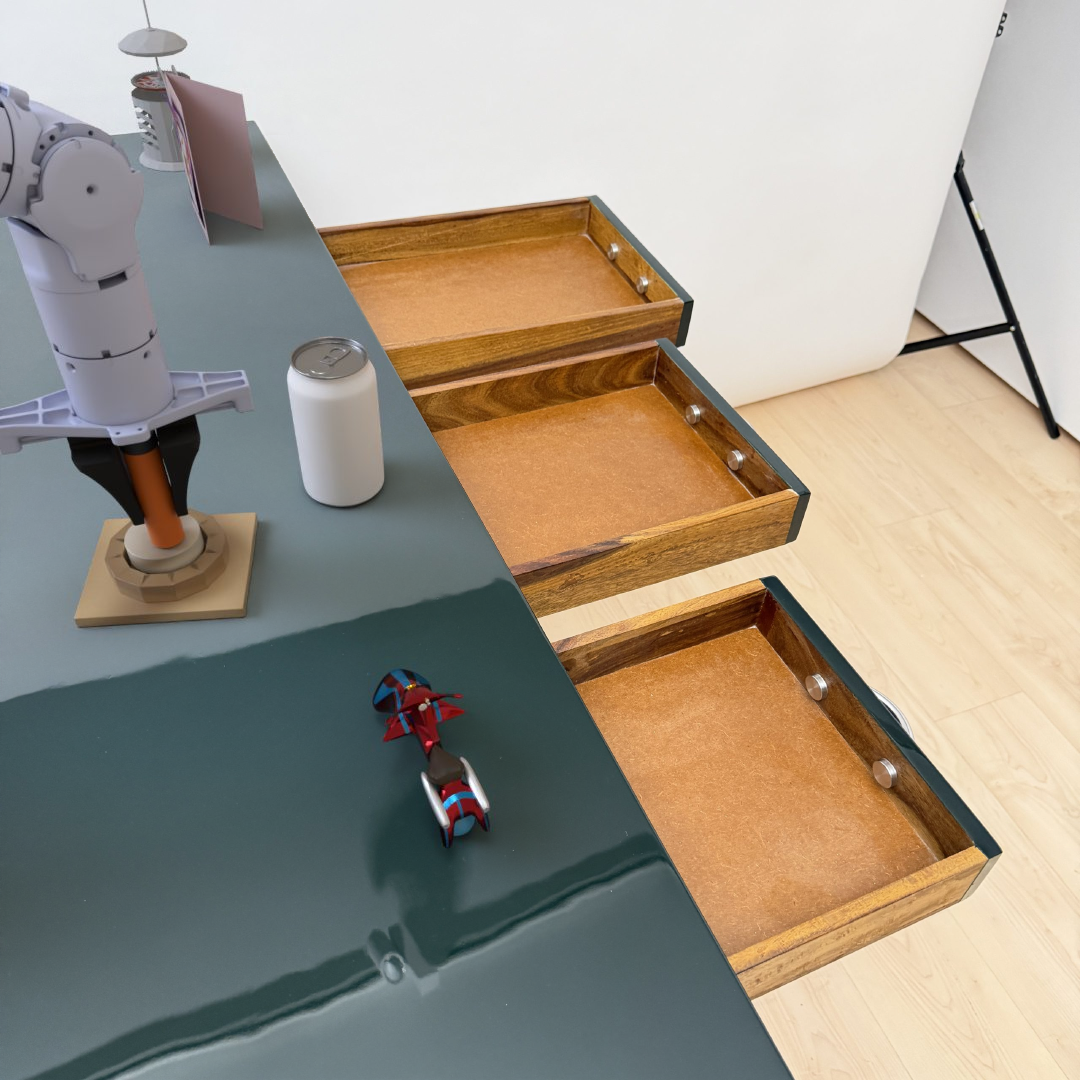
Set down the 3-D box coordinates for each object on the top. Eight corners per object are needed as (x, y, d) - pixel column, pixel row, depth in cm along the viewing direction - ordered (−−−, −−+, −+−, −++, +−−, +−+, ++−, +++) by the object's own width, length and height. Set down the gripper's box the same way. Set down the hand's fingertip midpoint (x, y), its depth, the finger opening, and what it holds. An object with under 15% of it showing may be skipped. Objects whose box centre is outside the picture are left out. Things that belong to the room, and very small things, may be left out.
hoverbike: (432, 680, 59) (430, 624, 55) (509, 833, 51) (513, 780, 48) (357, 706, 57) (349, 650, 53) (425, 869, 50) (422, 817, 46)
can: (288, 495, 72) (265, 367, 63) (331, 451, 76) (315, 325, 68) (359, 519, 70) (344, 390, 62) (399, 472, 74) (390, 346, 66)
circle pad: (123, 577, 61) (117, 561, 60) (136, 528, 65) (131, 512, 64) (199, 573, 62) (194, 557, 61) (208, 524, 66) (204, 508, 65)
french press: (202, 139, 125) (160, -76, 108) (230, 169, 118) (190, -56, 101) (129, 150, 121) (73, -72, 103) (154, 181, 114) (98, -51, 97)
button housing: (77, 627, 61) (65, 602, 59) (108, 527, 68) (99, 502, 66) (245, 617, 62) (239, 592, 60) (258, 520, 69) (252, 496, 68)
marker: (152, 552, 61) (117, 446, 55) (148, 530, 62) (114, 425, 56) (187, 544, 62) (156, 439, 55) (183, 523, 63) (152, 418, 57)
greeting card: (185, 206, 109) (156, 72, 99) (247, 198, 112) (225, 67, 101) (201, 246, 102) (172, 106, 91) (267, 237, 104) (246, 100, 94)
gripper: (-42, 393, 46) (42, 577, 55) (246, 348, 51) (280, 525, 60) (-37, 325, 51) (40, 506, 60) (226, 290, 55) (260, 463, 65)
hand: (159, 511), depth 60 cm, fingers closed on marker, 2 cm apart
